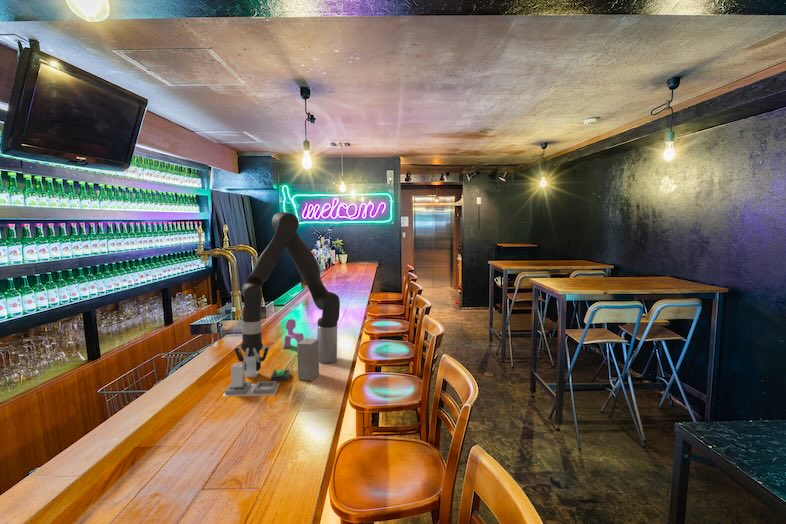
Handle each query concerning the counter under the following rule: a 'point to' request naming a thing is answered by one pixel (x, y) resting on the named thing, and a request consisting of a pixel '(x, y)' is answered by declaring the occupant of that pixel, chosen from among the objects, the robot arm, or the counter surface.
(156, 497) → the counter surface
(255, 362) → the block
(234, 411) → the counter surface
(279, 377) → the button housing
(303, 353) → the skincare box
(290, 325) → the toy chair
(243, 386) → the block
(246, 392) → the grey socket board
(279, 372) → the button
